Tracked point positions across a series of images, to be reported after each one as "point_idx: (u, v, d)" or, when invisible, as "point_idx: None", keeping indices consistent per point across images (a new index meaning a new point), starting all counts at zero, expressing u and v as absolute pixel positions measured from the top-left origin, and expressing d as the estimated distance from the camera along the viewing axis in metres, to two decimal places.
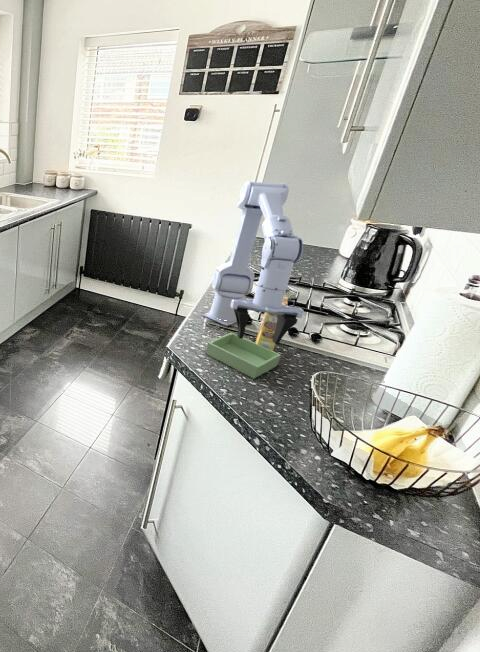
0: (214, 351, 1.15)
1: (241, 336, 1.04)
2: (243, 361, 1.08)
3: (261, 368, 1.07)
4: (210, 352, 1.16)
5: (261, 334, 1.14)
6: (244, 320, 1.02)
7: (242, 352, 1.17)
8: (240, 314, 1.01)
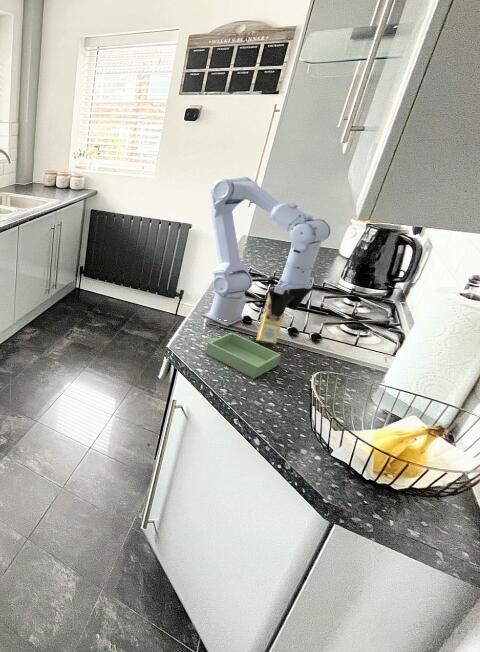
0: (214, 351, 1.15)
1: None
2: (243, 361, 1.08)
3: (261, 368, 1.07)
4: (210, 352, 1.16)
5: (266, 317, 1.16)
6: (288, 301, 1.10)
7: (242, 352, 1.17)
8: (290, 298, 1.09)
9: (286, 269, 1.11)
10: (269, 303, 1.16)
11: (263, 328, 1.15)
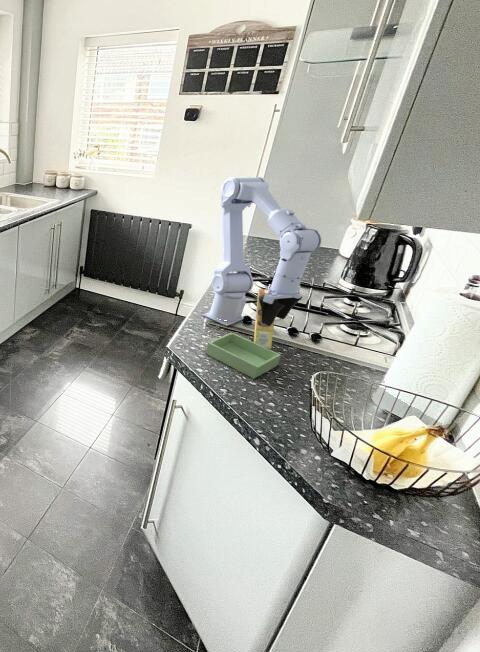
0: (214, 351, 1.15)
1: (271, 323, 1.12)
2: (243, 361, 1.08)
3: (261, 368, 1.07)
4: (210, 352, 1.16)
5: (257, 324, 1.15)
6: (279, 310, 1.10)
7: (242, 352, 1.17)
8: (280, 307, 1.08)
9: (276, 278, 1.10)
10: (258, 309, 1.15)
11: (256, 335, 1.15)
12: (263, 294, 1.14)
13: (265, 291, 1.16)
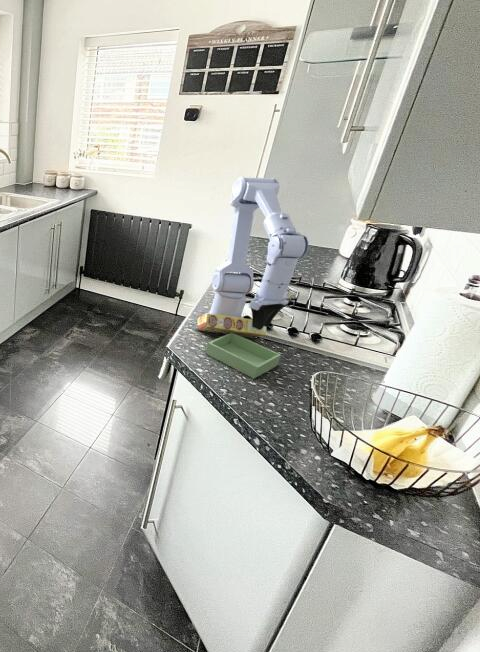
0: (214, 351, 1.15)
1: (261, 328, 1.11)
2: (243, 361, 1.08)
3: (261, 368, 1.07)
4: (210, 352, 1.16)
5: (240, 330, 1.18)
6: (269, 315, 1.08)
7: (242, 352, 1.17)
8: (271, 312, 1.07)
9: (262, 284, 1.08)
10: (224, 328, 1.19)
11: (252, 331, 1.17)
12: (208, 323, 1.20)
13: (202, 322, 1.23)
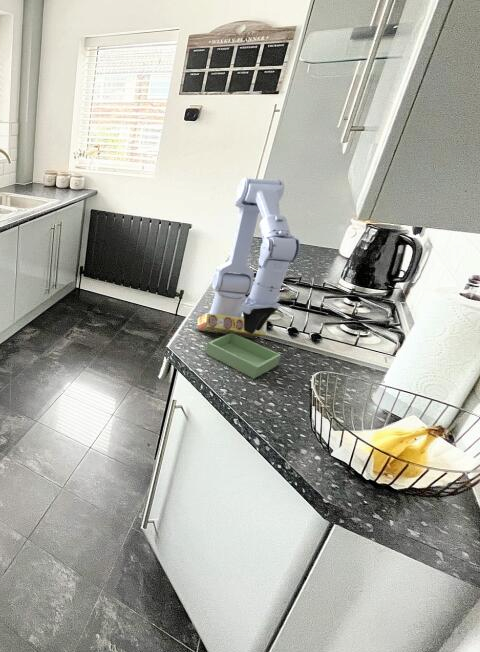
0: (214, 351, 1.15)
1: (253, 331, 1.09)
2: (243, 361, 1.08)
3: (261, 368, 1.07)
4: (210, 352, 1.16)
5: (240, 330, 1.18)
6: (261, 318, 1.06)
7: (242, 352, 1.17)
8: (262, 315, 1.05)
9: (254, 287, 1.06)
10: (224, 328, 1.19)
11: None
12: (208, 323, 1.20)
13: (202, 322, 1.23)
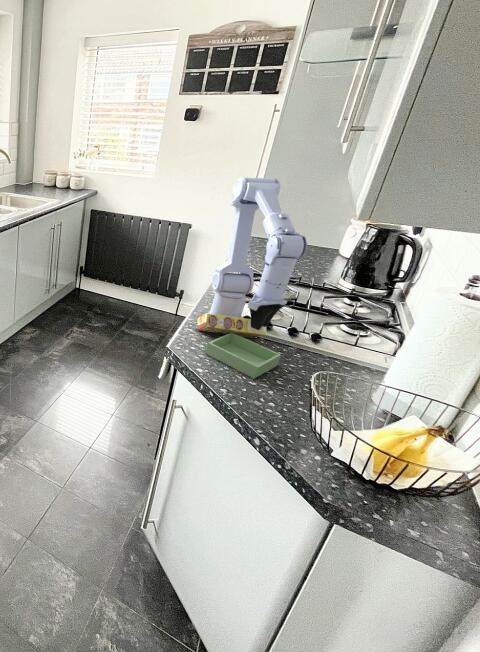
0: (214, 351, 1.15)
1: (260, 328, 1.11)
2: (243, 361, 1.08)
3: (261, 368, 1.07)
4: (210, 352, 1.16)
5: (240, 330, 1.18)
6: (268, 315, 1.08)
7: (242, 352, 1.17)
8: (269, 312, 1.06)
9: (261, 284, 1.07)
10: (224, 328, 1.19)
11: (252, 331, 1.17)
12: (208, 323, 1.20)
13: (202, 322, 1.23)
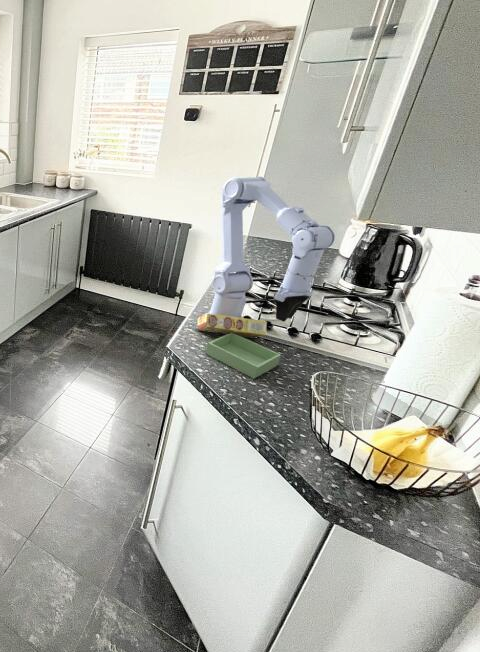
0: (214, 351, 1.15)
1: (285, 319, 1.12)
2: (243, 361, 1.08)
3: (261, 368, 1.07)
4: (210, 352, 1.16)
5: (240, 330, 1.18)
6: (294, 306, 1.09)
7: (242, 352, 1.17)
8: (295, 303, 1.08)
9: (287, 276, 1.09)
10: (224, 328, 1.19)
11: (252, 331, 1.17)
12: (208, 323, 1.20)
13: (202, 322, 1.23)
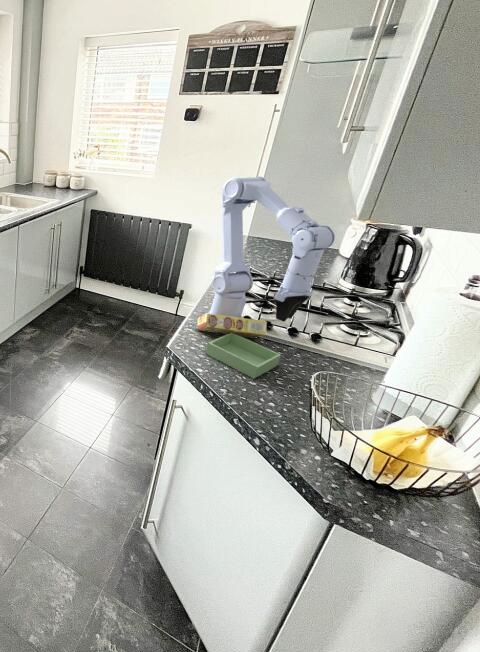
0: (214, 351, 1.15)
1: (285, 319, 1.12)
2: (243, 361, 1.08)
3: (261, 368, 1.07)
4: (210, 352, 1.16)
5: (240, 330, 1.18)
6: (294, 306, 1.09)
7: (242, 352, 1.17)
8: (295, 303, 1.08)
9: (287, 276, 1.09)
10: (224, 328, 1.19)
11: (252, 331, 1.17)
12: (208, 323, 1.20)
13: (202, 322, 1.23)
